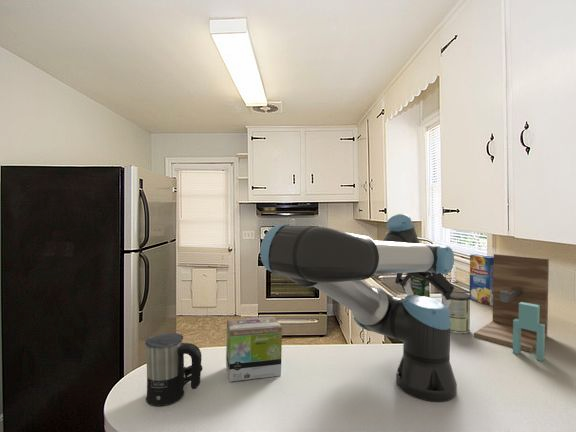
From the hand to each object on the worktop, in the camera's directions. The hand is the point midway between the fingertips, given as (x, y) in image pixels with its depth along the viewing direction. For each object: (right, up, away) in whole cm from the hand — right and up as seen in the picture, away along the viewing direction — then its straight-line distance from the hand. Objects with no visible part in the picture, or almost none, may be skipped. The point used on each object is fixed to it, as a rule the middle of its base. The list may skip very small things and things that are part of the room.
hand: (429, 300), depth 119 cm
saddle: (+29, -16, -10) cm, 34 cm away
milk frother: (-81, -16, -30) cm, 88 cm away
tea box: (-61, -16, -21) cm, 66 cm away
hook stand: (+34, -15, +7) cm, 38 cm away
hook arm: (+34, -1, +7) cm, 35 cm away
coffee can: (+17, -15, +15) cm, 27 cm away
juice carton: (+52, -15, +55) cm, 77 cm away
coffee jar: (+17, -15, +50) cm, 55 cm away
